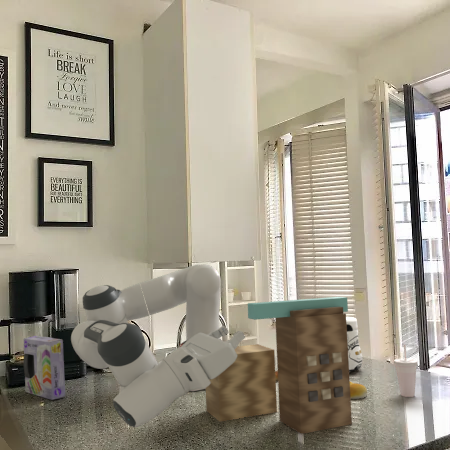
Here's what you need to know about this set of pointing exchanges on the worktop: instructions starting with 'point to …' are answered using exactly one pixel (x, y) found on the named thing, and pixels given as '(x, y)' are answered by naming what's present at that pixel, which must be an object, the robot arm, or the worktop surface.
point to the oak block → (244, 385)
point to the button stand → (313, 369)
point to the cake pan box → (44, 367)
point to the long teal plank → (292, 307)
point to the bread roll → (357, 391)
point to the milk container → (353, 344)
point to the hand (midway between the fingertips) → (234, 331)
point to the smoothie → (406, 375)
